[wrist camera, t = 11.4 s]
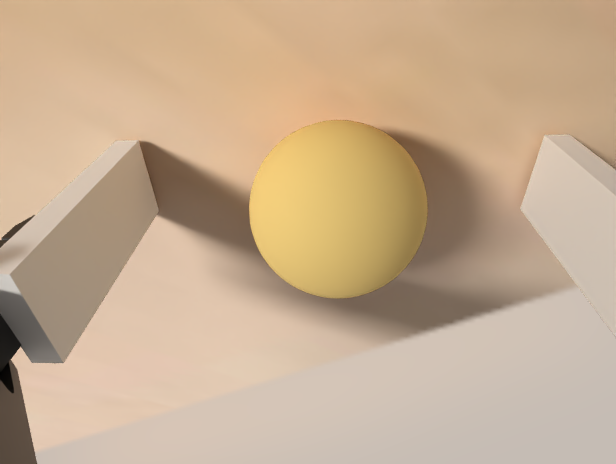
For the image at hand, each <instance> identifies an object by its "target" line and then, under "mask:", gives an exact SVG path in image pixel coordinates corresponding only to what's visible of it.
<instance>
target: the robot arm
mask: <svg viewBox="0 0 616 464" xmlns="http://www.w3.org/2000/svg"><path fill="white" fill-rule="evenodd" d="M520 210H521V211H522V212H523V214H524V215H525V216H526V218H527V219H528V220H529V222H530V223H531V224H532V226H533V227H534V228H535V230H536V231H537V232H538V234H539V235H540V236H541V238H542V239H543V240H544V242H545V243H546V244H547V246H548V247H549V249H550V250H551V251H552V253H553V254H554V255H555V257H556V258H557V259H558V261H559V262H560V263H561V265H562V266H563V267H564V269H565V270H566V271H567V273H568V274H569V275H570V277H571V278H572V279H573V281H574V282H575V283H576V285H577V286H578V288H579V289H580V290H581V292H582V293H583V294H584V296H585V297H586V298H587V299H588V301H589V302H590V304H591V305H592V306H593V308H594V309H595V310H596V312H597V313H598V314H599V316H600V317H601V318H602V320H603V321H604V322H605V324H606V325H607V326H608V328H609V329H610V330H611V332H612V333H613V335H614V336H615V337H616V170H615V169H614V168H613V167H611V166H610V165H609V164H607V163H606V162H605V161H603V160H602V159H601V158H599V157H598V156H597V155H596V154H594V153H593V152H592V151H590V150H589V149H588V148H586V147H585V146H584V145H583V144H581V143H580V142H579V141H577V140H576V139H575V138H573V137H572V136H571V135H544V138H543V141H542V144H541V147H540V150H539V153H538V157H537V160H536V163H535V166H534V169H533V172H532V175H531V178H530V181H529V184H528V187H527V190H526V193H525V196H524V199H523V202H522V205H521V208H520ZM158 212H159V209H158V206H157V202H156V199H155V195H154V192H153V188H152V185H151V181H150V178H149V174H148V171H147V167H146V164H145V161H144V157H143V154H142V150H141V147H140V143H139V140H126V141H115V142H114V143H113V144H112V145H111V146H110V147H109V148H107V149H106V150H105V151H104V152H103V153H102V154H101V155H100V156H99V157H98V158H97V159H96V160H95V161H93V162H92V163H91V164H90V165H89V166H88V167H87V168H86V169H85V170H84V171H83V172H82V173H80V174H79V175H78V176H77V177H76V178H75V179H74V180H73V181H72V182H71V183H70V184H69V185H68V186H66V187H65V188H64V189H63V190H62V191H61V192H60V193H59V194H58V195H57V196H56V197H55V198H53V199H52V200H51V201H50V202H49V203H48V204H47V205H46V206H45V207H44V208H43V209H42V210H41V211H39V212H38V213H37V214H36V215H34V216H32V217H30V218H28V219H26V220H25V221H23V222H21V223H19V224H17V225H16V226H14V227H13V228H12V229H11V230H10V231H9V232H8V233H7V234H6V235H4V236H3V237H2V240H0V464H37V461H36V457H35V452H34V447H33V442H32V438H31V433H30V428H29V423H28V419H27V414H26V409H25V404H24V400H23V395H22V390H21V385H20V381H19V376H18V371H17V369H16V367H15V365H14V364H13V363H12V361H11V358H12V357H13V356H14V354H15V353H16V352H17V350H18V349H19V348H20V346H21V347H22V349H23V350H24V352H25V353H26V355H27V356H28V358H29V359H30V361H31V362H32V363H64V362H65V360H66V358H67V357H68V355H69V354H70V352H71V350H72V349H73V347H74V346H75V344H76V343H77V341H78V339H79V338H80V336H81V335H82V333H83V331H84V330H85V328H86V327H87V325H88V323H89V322H90V320H91V319H92V317H93V315H94V314H95V312H96V311H97V309H98V307H99V306H100V304H101V303H102V301H103V300H104V298H105V296H106V295H107V293H108V292H109V290H110V288H111V287H112V285H113V284H114V282H115V280H116V279H117V277H118V276H119V274H120V272H121V271H122V269H123V268H124V266H125V264H126V263H127V261H128V260H129V258H130V256H131V255H132V253H133V252H134V250H135V249H136V247H137V245H138V244H139V242H140V241H141V239H142V237H143V236H144V234H145V233H146V231H147V229H148V228H149V226H150V225H151V223H152V221H153V220H154V218H155V217H156V215H157V213H158Z"/></svg>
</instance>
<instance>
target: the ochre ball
mask: <svg viewBox="0 0 616 464" xmlns="http://www.w3.org/2000/svg"><path fill="white" fill-rule="evenodd" d="M249 214H250V225H251V229H252V234H253V237H254V239H255V242H256V245H257V247H258V249H259V251H260V253H261V255H262V256H263V258H264V259H265V261H266V262H267V263H268V265H269V266H270V267H271V268H272V269H273V271H274V272H275V273H276V274H278V275H279V276H280V277H281V278H282V279H283V280H285V281H286V282H287V283H289V284H290V285H292V286H294V287H295V288H297V289H300V290H302V291H304V292H307V293H309V294H312V295H316V296H320V297H326V298H351V297H356V296H361V295H364V294H367V293H370V292H372V291H374V290H377V289H379V288H381V287H382V286H384V285H386V284H387V283H389V282H390V281H392V280H393V279H394V278H396V277H397V276H398V275H399V274H400V273H401V272H402V271H403V270H404V269H405V268H406V267H407V265H408V264H409V263H410V262H411V260H412V259H413V257H414V255H415V254H416V252H417V250H418V248H419V246H420V244H421V241H422V239H423V236H424V232H425V228H426V224H427V214H428V205H427V194H426V190H425V186H424V182H423V179H422V176H421V174H420V171H419V169H418V168H417V166H416V164H415V163H414V161H413V159H412V158H411V156H410V155H409V154H408V153H407V151H406V150H405V149H404V148H403V147H402V146H401V145H400V144H399V143H398V142H396V141H395V140H394V139H393V138H392V137H390V136H389V135H387V134H386V133H384V132H383V131H381V130H379V129H377V128H374V127H372V126H369V125H366V124H363V123H359V122H354V121H347V120H331V121H323V122H319V123H314V124H312V125H309V126H306V127H303V128H301V129H299V130H297V131H295V132H293V133H292V134H290V135H289V136H287V137H286V138H284V139H283V140H282V141H281V142H280V143H279V144H277V145H276V146H275V147H274V148H273V150H272V151H271V152H270V153H269V154H268V156H267V157H266V158H265V160H264V161H263V163H262V164H261V166H260V168H259V170H258V172H257V175H256V177H255V179H254V182H253V186H252V190H251V195H250V203H249Z"/></svg>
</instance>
